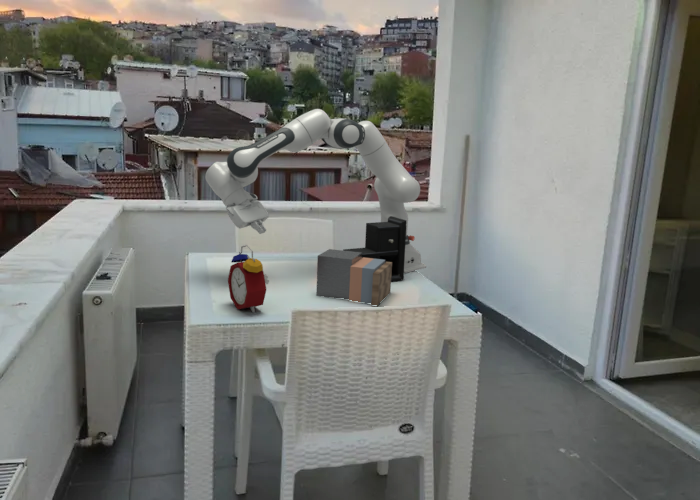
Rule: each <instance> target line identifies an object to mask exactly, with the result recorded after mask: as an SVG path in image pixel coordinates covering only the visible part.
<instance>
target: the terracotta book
mask: <svg viewBox="0 0 700 500" xmlns="http://www.w3.org/2000/svg"><path fill="white" fill-rule="evenodd" d="M372 260H373V258H364V257H363V258H362V259H360V260H359V261H357V262H356V263H355V264H353V265H352V266H351V267H350V289H349V300H352V301H358V302H361V284H362V268H363V267H364V266H365V265H367V264H368V263H369V262H370V261H372ZM349 300H348V301H349Z"/></svg>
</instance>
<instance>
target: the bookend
mask: <svg viewBox="0 0 700 500" xmlns="http://www.w3.org/2000/svg"><path fill="white" fill-rule="evenodd" d="M406 221H407V220H403V219H400V218H396V217H393V216H390V217H389V218H388V222H381V221H378V222H376V221H375V222H366V224H365V242H364V243H365V245H364V247H358V248H357V247H356V248H354V247H353V248H344V249H342V250H343V251H352V252H361V253H362V258H363V257H364V258H373V259H382V260H385V263H386V262H392V273H391V283H392V282H399V281H404V278H405V277H404V275H405V273H404V261H405V243H406V224H407V222H406Z"/></svg>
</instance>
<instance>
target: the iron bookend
mask: <svg viewBox="0 0 700 500" xmlns="http://www.w3.org/2000/svg"><path fill="white" fill-rule="evenodd" d="M360 259H362V253H361V252H352V251H343V249H342V250H340V249H331V248H329V249H328V250H325V251H323V252H321V253H320V254H318V255H317V267H316V294H315V296H316V297H321V296H324V297H323V298H329V297H334V298H333V299H336V298H344V299H349V289H350V267H351V266H352V265H353V264H355V263H356V262H357V261H359V260H360Z"/></svg>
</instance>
